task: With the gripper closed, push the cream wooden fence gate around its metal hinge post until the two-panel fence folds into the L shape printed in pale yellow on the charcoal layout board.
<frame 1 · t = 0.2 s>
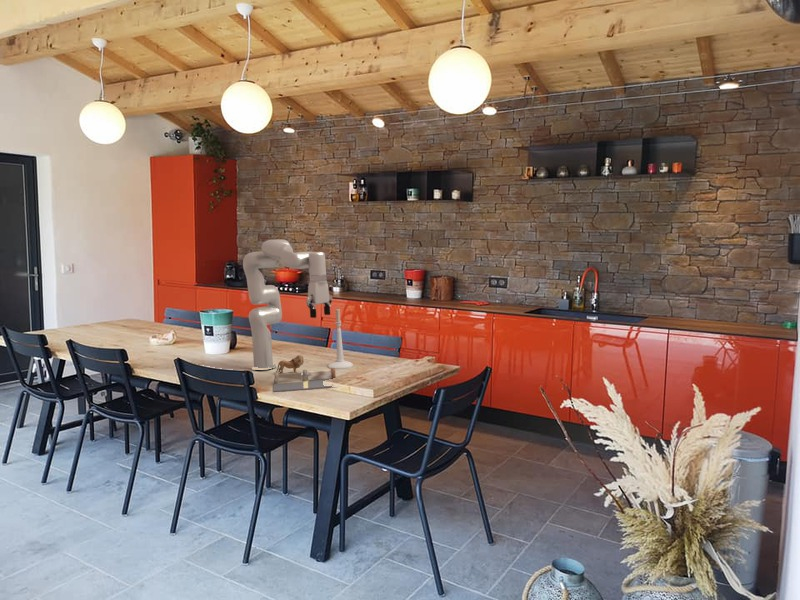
hand: (320, 316, 267), 30 cm above the table, tool pointing down, fingers open, 9 cm apart
fence gate: (321, 374, 268), point 3 cm above the table, hinge at 0.0°
layout board: (305, 382, 266), on the table
lion figurine: (290, 374, 285), on the table
fence fixed: (305, 382, 267), resting on layout board
candlestick: (340, 366, 297), on the table
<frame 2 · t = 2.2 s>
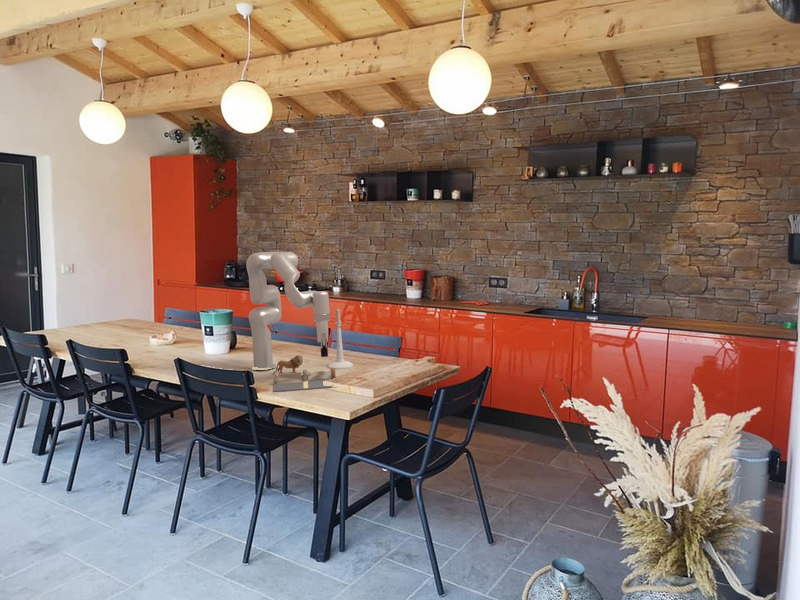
hand: (324, 356, 273), 10 cm above the table, tool pointing down, fingers closed
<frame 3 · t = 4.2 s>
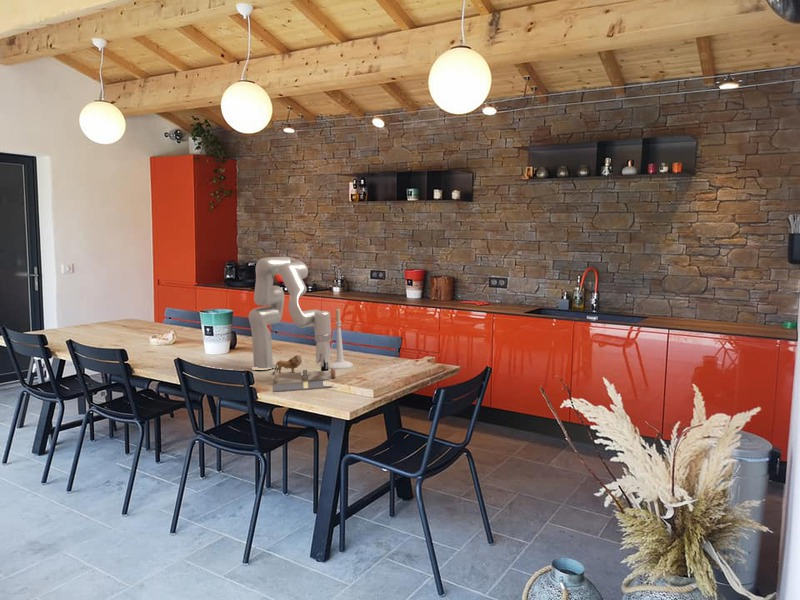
hand: (325, 376, 270), 1 cm above the table, tool pointing down, fingers closed
fence gate: (321, 374, 267), point 3 cm above the table, hinge at 6.9°, touching gripper
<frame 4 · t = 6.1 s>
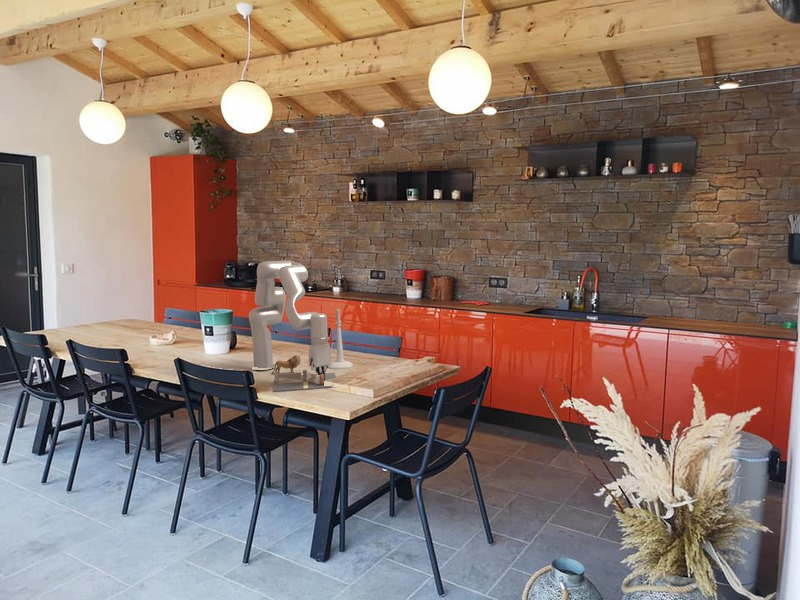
hand: (321, 381, 263), 1 cm above the table, tool pointing down, fingers closed
fence gate: (315, 377, 261), point 3 cm above the table, hinge at 55.7°, touching gripper
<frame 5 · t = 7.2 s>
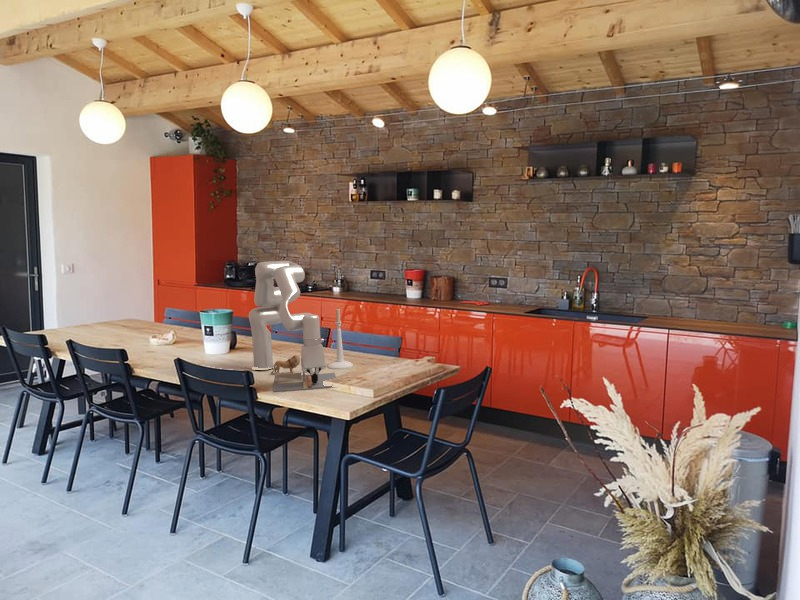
hand: (314, 382, 259), 1 cm above the table, tool pointing down, fingers closed
fence gate: (307, 378, 259), point 3 cm above the table, hinge at 82.8°, touching gripper
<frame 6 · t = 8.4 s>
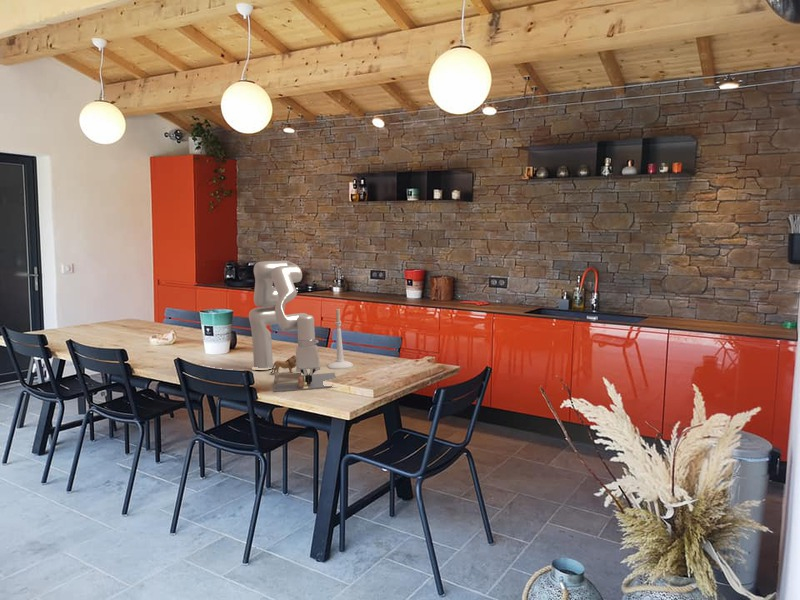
hand: (308, 383, 258), 1 cm above the table, tool pointing down, fingers closed
fence gate: (302, 379, 259), point 3 cm above the table, hinge at 99.5°, touching gripper
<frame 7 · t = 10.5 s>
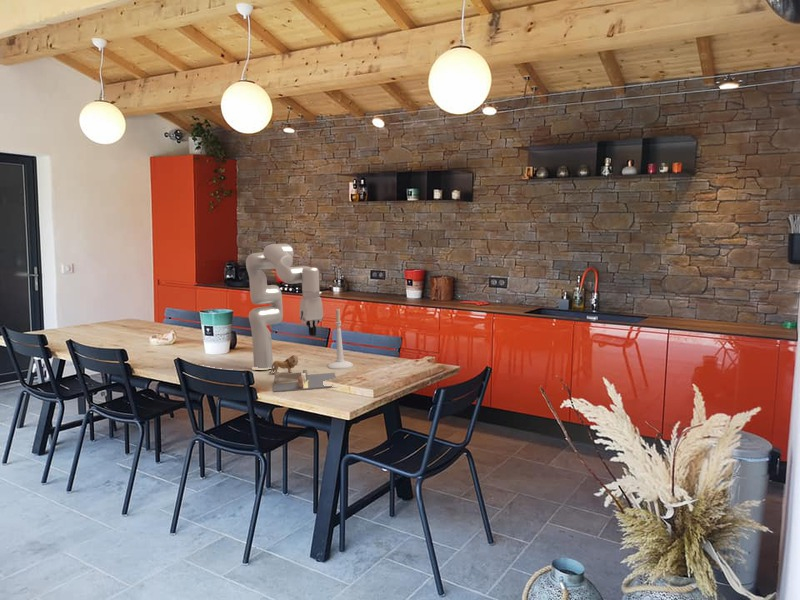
hand: (312, 335, 262), 22 cm above the table, tool pointing down, fingers closed
fence gate: (302, 379, 259), point 3 cm above the table, hinge at 99.6°
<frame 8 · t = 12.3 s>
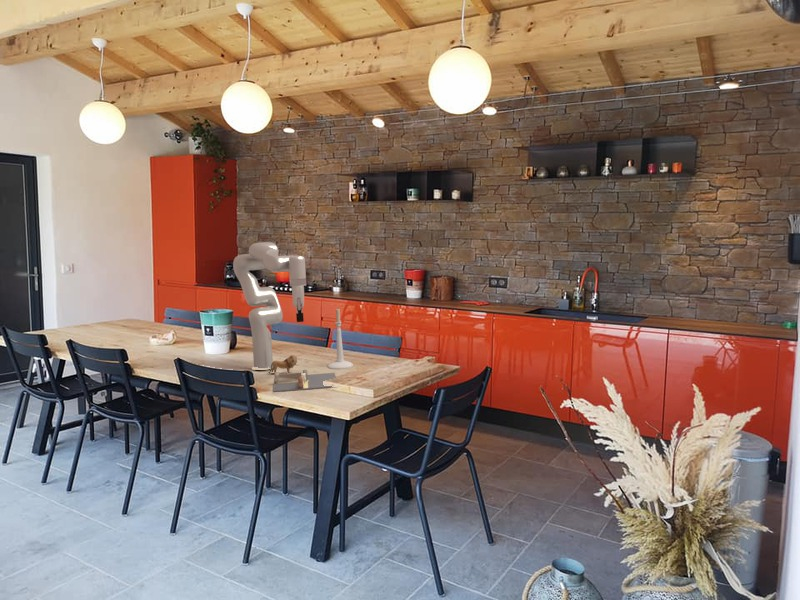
hand: (300, 321, 272), 27 cm above the table, tool pointing down, fingers closed
at the end: fence gate at +100° (first picture: +0°) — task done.
